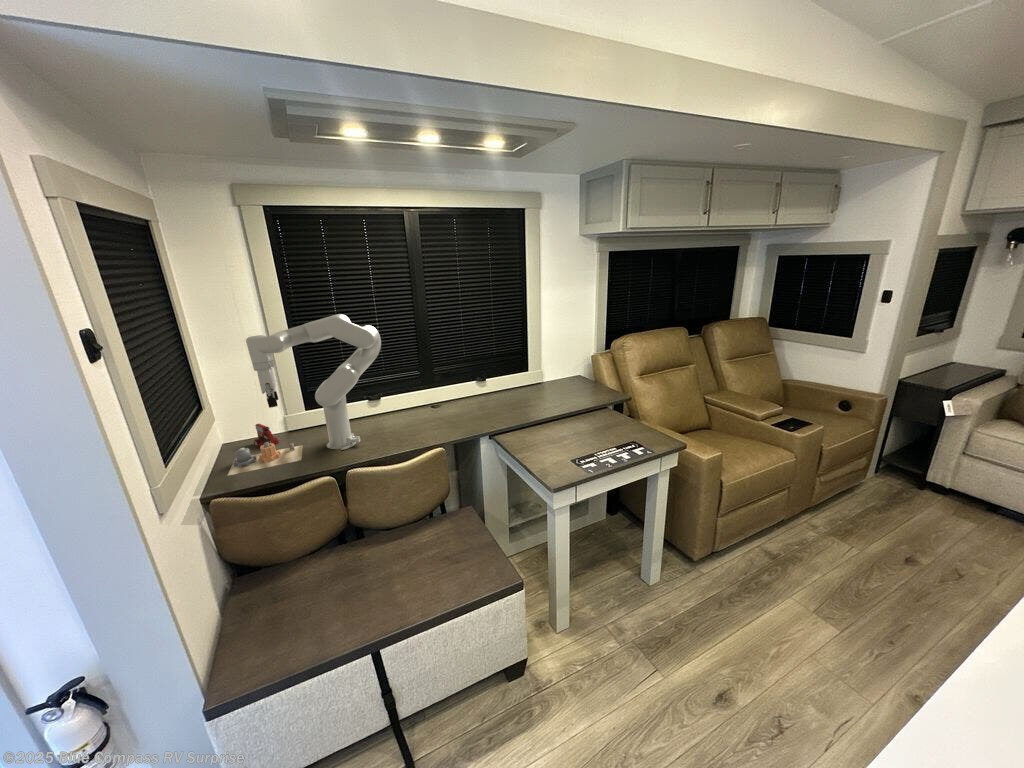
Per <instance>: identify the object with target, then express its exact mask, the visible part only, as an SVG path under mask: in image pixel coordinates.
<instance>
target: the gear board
mask: <svg viewBox="0 0 1024 768" xmlns="http://www.w3.org/2000/svg"><path fill="white" fill-rule="evenodd" d="M303 446H304V445H303V444H302V445H296V446H295V445H294V443H293V442H292V443H288V447H287V448H280V449H276V451H280V454H281V455H280V458H276V459H275V460H274V461H267V462H264V461H261V462H260V461H259V455H261V452H260V453H256V454H251V456H256V459H257V460H256V462H255V463H252V464H250V466H243V467H241V468H238V466H236V467H234V465H233V463H234V461H233V462H232V465H231V466H230V468H229V471H228V474H227V475H226V476H227V477H229V476H234V475H238V474H242V473H247V472H253V471H257V470H260V469H265V468H266V469H267V468H270V467H271V468H272V467H276V466H281V465H285V464H289V463H294V462H299V461H302V458H303ZM264 447H265V448H267V447H270V446H269V442H266V443H264ZM235 459H237V458H236V457H235V458H234V460H235Z"/></svg>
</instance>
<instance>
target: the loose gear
mask: <svg viewBox="0 0 1024 768" xmlns="http://www.w3.org/2000/svg"><path fill="white" fill-rule="evenodd" d="M269 446H270V447H267V448H265V447H264V445H263V446H261V447H260V446H259V449H260V453H261V455H259V461H260V462H261V461H264V462H267V461H274V460H275V459H276V458H280V455H281V454H280V451H276V450H277V449H276V444H275V445H274V444H273V443H271V444H270V443H269Z"/></svg>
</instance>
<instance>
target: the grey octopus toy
mask: <svg viewBox="0 0 1024 768" xmlns="http://www.w3.org/2000/svg"><path fill="white" fill-rule="evenodd" d="M234 454H235V458H237V459H235V458H234V460H233V462H234V463H233V462H232V464H233V465H234V467H236V466H238V468H241V467H243V466H250V464H252V463H255V462H256V460H257V459H256V456H251V455H252V453H251V450H250V448H249V447H246V448H245V447H241V448H238V450H235V451H234Z"/></svg>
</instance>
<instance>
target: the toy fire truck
mask: <svg viewBox="0 0 1024 768" xmlns="http://www.w3.org/2000/svg"><path fill="white" fill-rule="evenodd" d="M254 426H255V430H256V432H257V438H256V439H254V440H253V444H254V445H255V446H257V447H259V448H260V447H261V446H263V445H264V443H266V442H269V443H270V444H271V443H273V444H274V445H275V446H276V445H279V443H280V442H279V439H278V438H277V437H275V436H274V435H273V432H272V430H270V427H269V426H266V425H264V424H261V423H256V424H255V425H254Z"/></svg>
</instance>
